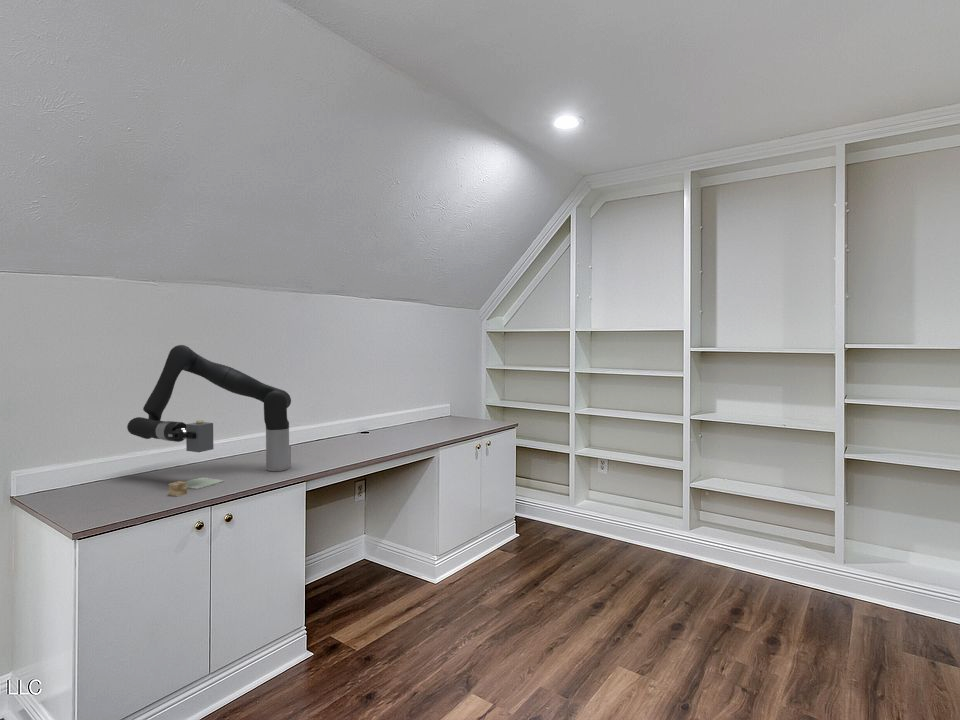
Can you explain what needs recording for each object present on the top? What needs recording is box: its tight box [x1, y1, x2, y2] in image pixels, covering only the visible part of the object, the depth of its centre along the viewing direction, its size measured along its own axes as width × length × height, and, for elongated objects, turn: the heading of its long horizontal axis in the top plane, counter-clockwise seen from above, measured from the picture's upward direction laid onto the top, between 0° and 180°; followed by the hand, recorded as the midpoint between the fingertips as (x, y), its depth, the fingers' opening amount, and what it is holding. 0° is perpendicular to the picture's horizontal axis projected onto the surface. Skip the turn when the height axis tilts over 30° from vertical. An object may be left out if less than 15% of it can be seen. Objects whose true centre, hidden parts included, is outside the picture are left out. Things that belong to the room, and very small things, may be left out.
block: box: [168, 480, 188, 497], centre depth 194 cm, size 4×4×4 cm
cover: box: [185, 420, 214, 453], centre depth 207 cm, size 6×6×11 cm
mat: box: [185, 477, 225, 490], centre depth 208 cm, size 12×12×1 cm
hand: (203, 434), depth 206 cm, fingers closed on cover, 6 cm apart
